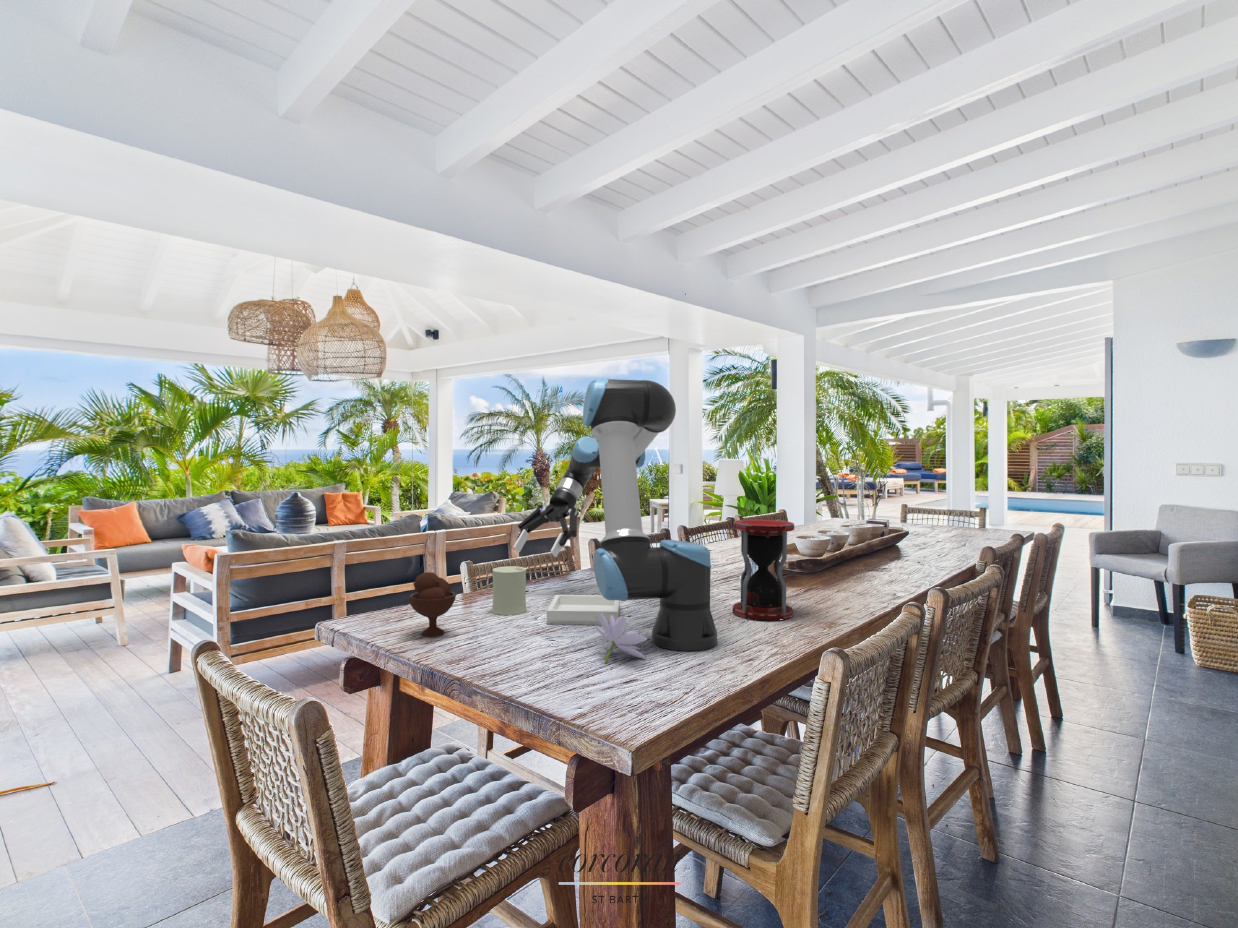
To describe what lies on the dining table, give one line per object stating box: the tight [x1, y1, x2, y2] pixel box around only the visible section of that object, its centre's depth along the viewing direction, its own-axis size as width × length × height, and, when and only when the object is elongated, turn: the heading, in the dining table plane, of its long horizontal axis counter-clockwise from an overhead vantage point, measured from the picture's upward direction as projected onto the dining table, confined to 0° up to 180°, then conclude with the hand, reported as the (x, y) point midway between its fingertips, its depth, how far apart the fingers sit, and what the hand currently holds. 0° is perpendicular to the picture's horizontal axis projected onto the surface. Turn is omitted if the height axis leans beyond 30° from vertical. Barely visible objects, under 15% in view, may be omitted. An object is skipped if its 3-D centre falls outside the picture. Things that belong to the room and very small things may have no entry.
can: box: [491, 565, 527, 616], centre depth 182 cm, size 9×9×12 cm
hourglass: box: [732, 518, 795, 622], centre depth 181 cm, size 16×16×25 cm
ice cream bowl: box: [408, 571, 457, 638], centre depth 160 cm, size 11×11×15 cm
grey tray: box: [546, 594, 621, 626], centre depth 178 cm, size 18×18×4 cm
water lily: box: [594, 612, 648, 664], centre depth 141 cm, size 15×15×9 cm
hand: (534, 551), depth 191 cm, fingers open, 13 cm apart
